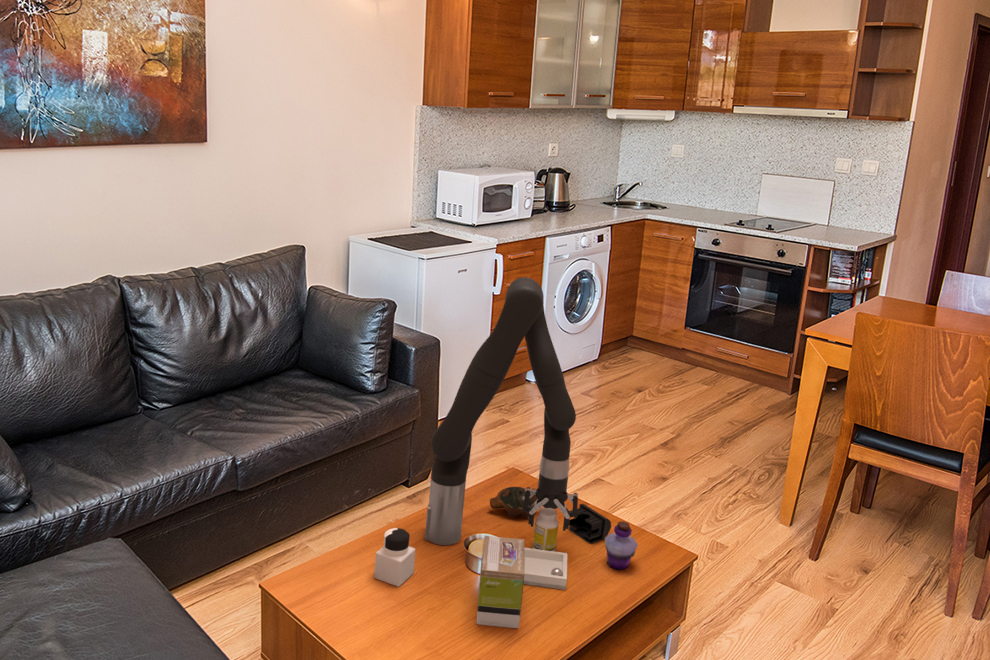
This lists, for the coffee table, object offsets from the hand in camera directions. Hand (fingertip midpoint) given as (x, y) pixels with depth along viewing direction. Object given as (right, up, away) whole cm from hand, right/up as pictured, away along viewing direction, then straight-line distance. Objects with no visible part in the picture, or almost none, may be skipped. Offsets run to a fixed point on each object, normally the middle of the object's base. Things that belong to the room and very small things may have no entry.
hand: (548, 527), depth 221 cm
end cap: (+12, -5, +12) cm, 18 cm away
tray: (-3, -9, -9) cm, 13 cm away
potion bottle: (+18, -9, -2) cm, 20 cm away
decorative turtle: (-8, -1, +19) cm, 21 cm away
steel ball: (+1, -10, -13) cm, 16 cm away
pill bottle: (-1, -6, +2) cm, 7 cm away
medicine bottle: (-39, -8, -17) cm, 43 cm away
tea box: (-13, -13, -25) cm, 31 cm away
